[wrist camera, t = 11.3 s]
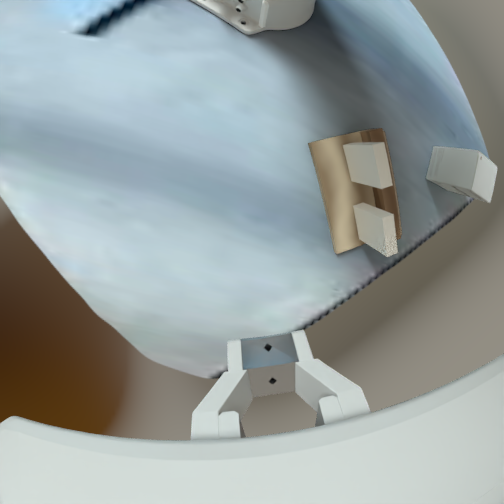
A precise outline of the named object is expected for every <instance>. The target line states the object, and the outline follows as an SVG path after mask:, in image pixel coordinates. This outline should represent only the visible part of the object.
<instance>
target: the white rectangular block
mask: <svg viewBox="0 0 504 504" xmlns="http://www.w3.org/2000/svg"><path fill="white" fill-rule="evenodd" d="M353 208H354V214H355V219H356V224H357V230H358V236H359V239H360V240H361V241H363V242H365V243H366V244H368V245H369V246H371V247H372V248H374V249H375V250H377V251H378V252H380V253H382V254H383V255H385V256H386V257H389V256H391V255H393V254H396V253H398V250H397V240H396V231H395V222H394V215H393V214H392V213H389V212H387V211H384V210H382V209H379V208H376V207H374V206H371V205H369V204H366V203H360V204H357V205H354V206H353Z"/></svg>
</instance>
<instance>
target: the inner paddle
mask: <svg viewBox="0 0 504 504" xmlns="http://www.w3.org/2000/svg"><path fill="white" fill-rule="evenodd" d="M343 148H344V152H345V156H346V160H347V164H348V169H349V173H350V177H351V181H352V182H356V183H360V184H364V185H368V186H372V187H376V188H379V189H383V188H386V187H389V186H393V184H392V178H391V173H390V168H389V163H388V158H387V153H386V148H385V144H384V142H357V143H349V144H345V145H343Z"/></svg>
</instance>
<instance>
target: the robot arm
mask: <svg viewBox="0 0 504 504" xmlns="http://www.w3.org/2000/svg"><path fill="white" fill-rule="evenodd" d="M191 1H193V2H195V3H196V4H198V5H200V6H202V7H203V8H205V9H207V10H208V11H210V12H212V13H213V14H215V15H217V16H218V17H220V18H221V19H223V20H225V21H226V22H228V23H229V24H231V25H232V26H234V27H235V28H237V29H238V30H240V31H241V32H243V33H244V34H248V35H250V34H255V33H258V32H261V31H264V30H286V29H292V28H295V27H298V26H300V25H302V24H304V23H305V22H306V21H307V20H308V19H309V18H310V17H311V15H312V13H313V11H314V4H315V0H191ZM242 22H244V23H245V25H242V24H241V23H242ZM227 349H228V372H224V373H223V375H222V376H221V377H220V378H219V380H218V381H217V382H216V384H215V385H214V386H213V388H212V389H211V390H210V391H209V393H208V394H207V395H206V396H205V398H204V399H203V400H202V402H201V403H200V404H199V405H198V406H197V408H196V409H195V410H194V412H193V413H192V429H191V440H190V441H177V440H175V441H174V440H147V439H132V438H122V437H113V436H104V435H98V434H91V433H85V432H79V431H74V430H68V429H64V428H59V427H55V426H50V425H46V424H42V423H38V422H34V421H31V420H28V419H24V418H21V417H17V416H12V417H9V418H8V419H6V420H5V421H3V422H2V423H1V424H0V504H504V354H502V355H501V356H499V357H497V358H496V359H494V360H492V361H491V362H489V363H487V364H485V365H483V366H482V367H480V368H478V369H476V370H474V371H472V372H470V373H468V374H466V375H464V376H462V377H460V378H458V379H456V380H454V381H452V382H450V383H448V384H446V385H444V386H441V387H439V388H437V389H434V390H432V391H430V392H427V393H425V394H422V395H420V396H417V397H415V398H412V399H410V400H407V401H404V402H401V403H399V404H396V405H393V406H390V407H387V408H384V409H381V410H378V411H375V412H371V411H370V408H369V406H368V403H367V401H366V398H365V396H364V394H363V391H362V389H361V387H359V386H358V385H356V384H355V383H353V382H352V381H350V380H349V379H347V378H346V377H344V376H342V375H341V374H340V373H338V372H336V371H335V370H334V369H332V368H331V367H329V366H327V365H326V364H325V363H323V362H322V361H320V360H319V359H314V358H313V355H312V352H311V349H310V346H309V343H308V340H307V337H306V334H305V331H304V330H300V331H294V332H291V333H290V332H289V333H283V334H277V335H270V336H264V337H256V338H246V339H239V340H228V343H227ZM293 391H295V392H296V393H297V394H298V395H299V396H300V397H301V398H302V399H303V400H304V401H305V402H306V403H307V404H309V405H310V406H311V407H312V408H313V409H314V410H315V411H316V412H317V418H316V424H315V427H312V428H307V429H302V430H296V431H291V432H284V433H278V434H271V435H264V436H255V437H246V436H245V433H244V430H243V427H242V423H241V419H242V418H243V416H244V414H245V412H246V410H247V409H248V407H249V405H250V403H251V401H252V399H253V397H259V396H265V395H272V394H278V393H287V392H293Z"/></svg>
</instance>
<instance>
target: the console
mask: <svg viewBox="0 0 504 504" xmlns="http://www.w3.org/2000/svg"><path fill="white" fill-rule="evenodd" d="M357 142H384V144H385V148H386V153H387V158H388V163H389V168H390V173H391V178H392V184H393V186H389V187H386V188H383V189H379V188H376V187H372V186H368V185H364V184H360V183H356V182H352V181H351V177H350V173H349V169H348V164H347V160H346V156H345V152H344V148H343V145H345V144H349V143H357ZM308 145H309V148H310V152H311V156H312V159H313V163H314V167H315V170H316V174H317V178H318V182H319V186H320V190H321V194H322V198H323V202H324V207H325V211H326V215H327V220H328V224H329V229H330V233H331V238H332V243H333V248H334V252H335V253H336V254H339V253H342V252H344V251H347V250H350V249H352V248H355V247H358V246H360V245H363V244H366V243H365V242H363V241H361V240H360V239H359V236H358V230H357V224H356V219H355V214H354V208H353V206H354V205H357V204H360V203H366V204H369V205H371V206H374V207H376V208H379V209H382V210H384V211H387V212H389V213H392V214H393V215H394V222H395V231H396V240H398V239H400V238H401V235H402V229H401V220H400V212H399V204H398V198H397V191H396V185H395V179H394V173H393V168H392V163H391V158H390V153H389V148H388V144H387V139H386V135H385V131H383V130H382V128H378V129H368V130H363V131H358V132H353V133H349V134H344V135H340V136H335V137H331V138H327V139H323V140H319V141H315V142H311V143H308Z"/></svg>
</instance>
